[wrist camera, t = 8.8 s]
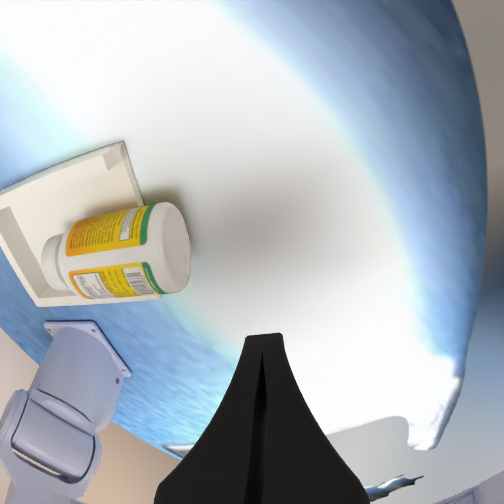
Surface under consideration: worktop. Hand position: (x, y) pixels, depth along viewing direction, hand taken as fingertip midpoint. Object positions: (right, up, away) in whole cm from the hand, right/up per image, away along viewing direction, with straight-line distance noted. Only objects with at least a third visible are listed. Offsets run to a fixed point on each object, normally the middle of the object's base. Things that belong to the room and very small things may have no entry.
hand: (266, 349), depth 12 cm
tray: (-14, +6, +9) cm, 17 cm away
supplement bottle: (-5, +4, +6) cm, 9 cm away
